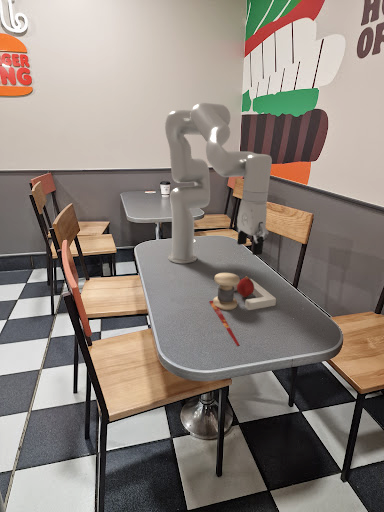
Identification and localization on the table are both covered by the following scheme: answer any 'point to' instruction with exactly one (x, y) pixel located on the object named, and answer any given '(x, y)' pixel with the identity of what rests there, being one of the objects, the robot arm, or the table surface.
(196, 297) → the table surface
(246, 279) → the onion
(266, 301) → the notch board
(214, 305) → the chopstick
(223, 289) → the spool
